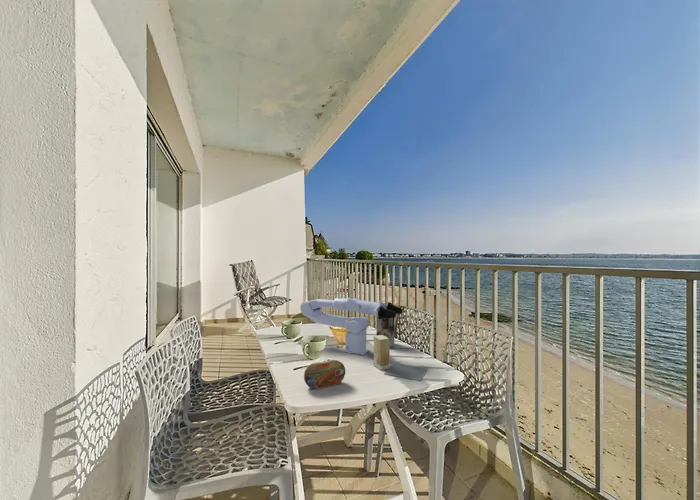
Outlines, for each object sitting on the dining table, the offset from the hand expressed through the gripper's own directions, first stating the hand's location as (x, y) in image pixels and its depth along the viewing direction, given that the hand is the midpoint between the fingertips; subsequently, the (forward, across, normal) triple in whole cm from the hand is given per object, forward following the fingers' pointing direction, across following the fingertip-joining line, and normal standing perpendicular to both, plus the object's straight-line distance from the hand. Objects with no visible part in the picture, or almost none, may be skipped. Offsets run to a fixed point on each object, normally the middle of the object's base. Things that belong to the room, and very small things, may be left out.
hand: (399, 313), depth 139 cm
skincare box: (-1, -13, +20) cm, 24 cm away
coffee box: (-12, +16, +22) cm, 30 cm away
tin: (-12, -39, +20) cm, 46 cm away
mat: (+9, -12, +19) cm, 25 cm away
